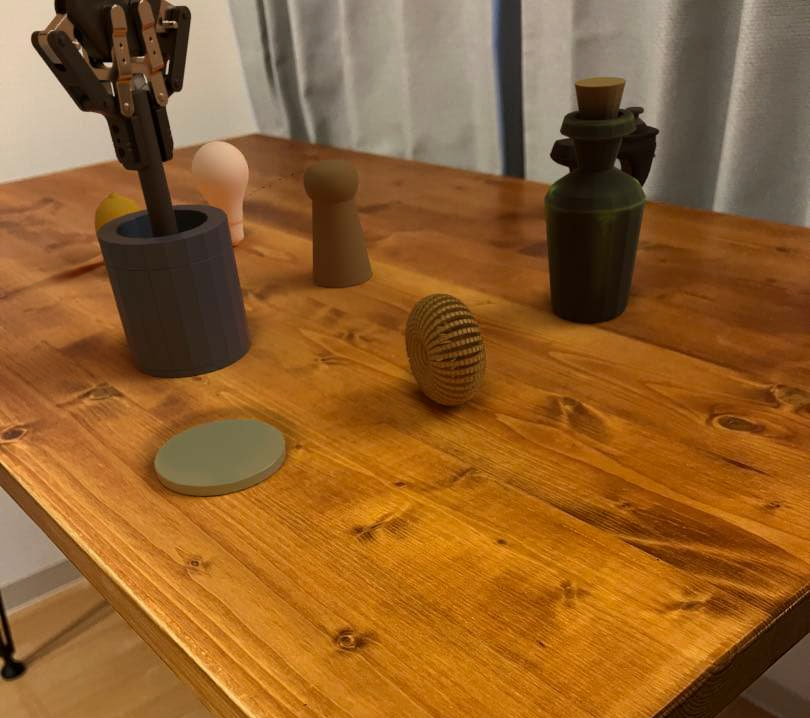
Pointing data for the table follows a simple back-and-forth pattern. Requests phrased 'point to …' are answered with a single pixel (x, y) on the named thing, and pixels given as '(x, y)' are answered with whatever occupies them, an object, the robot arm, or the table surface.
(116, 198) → the lemon
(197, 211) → the jar
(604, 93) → the potion bottle
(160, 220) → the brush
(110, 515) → the table surface
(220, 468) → the coaster
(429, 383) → the sculpture
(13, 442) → the table surface
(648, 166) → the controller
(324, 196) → the cork
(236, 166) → the lightbulb
